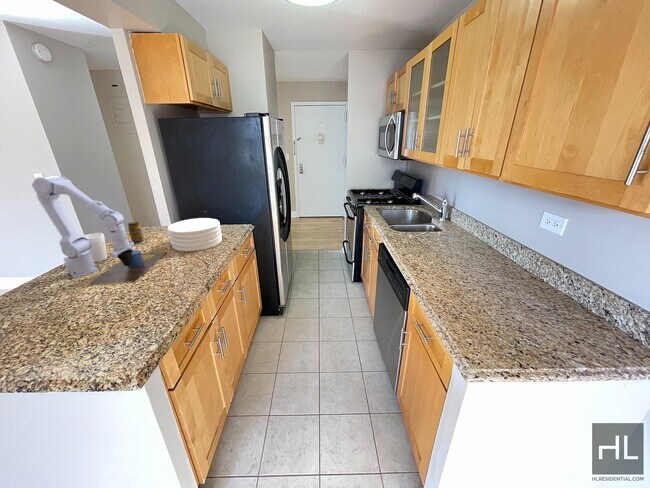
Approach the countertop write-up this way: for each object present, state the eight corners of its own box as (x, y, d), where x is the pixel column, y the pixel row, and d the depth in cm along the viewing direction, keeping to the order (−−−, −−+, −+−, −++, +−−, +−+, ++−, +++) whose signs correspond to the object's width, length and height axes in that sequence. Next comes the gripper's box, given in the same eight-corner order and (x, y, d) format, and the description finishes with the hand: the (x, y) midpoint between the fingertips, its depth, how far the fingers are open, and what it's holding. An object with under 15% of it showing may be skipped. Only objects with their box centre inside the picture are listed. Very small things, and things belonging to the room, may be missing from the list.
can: (131, 268, 125) (127, 256, 123) (125, 265, 128) (121, 253, 126) (146, 263, 130) (142, 251, 128) (139, 260, 134) (136, 248, 131)
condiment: (144, 238, 164) (139, 220, 160) (145, 242, 158) (140, 223, 154) (130, 241, 160) (124, 222, 156) (131, 245, 154) (125, 226, 150)
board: (134, 282, 114) (134, 281, 114) (89, 284, 111) (89, 284, 111) (166, 253, 143) (165, 252, 143) (130, 255, 141) (130, 254, 141)
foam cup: (108, 254, 142) (101, 231, 137) (113, 258, 136) (105, 235, 131) (86, 259, 135) (77, 236, 130) (90, 264, 129) (81, 240, 125)
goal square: (147, 261, 133) (147, 261, 133) (128, 262, 132) (128, 262, 132) (155, 254, 141) (155, 254, 141) (138, 255, 140) (138, 255, 140)
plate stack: (231, 236, 168) (228, 219, 163) (201, 253, 143) (197, 234, 138) (195, 233, 175) (192, 216, 170) (160, 248, 150) (155, 229, 145)
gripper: (119, 243, 113) (128, 271, 118) (137, 233, 126) (144, 258, 131) (101, 244, 112) (111, 272, 117) (121, 233, 125) (129, 259, 130)
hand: (127, 265), depth 124 cm, fingers closed
